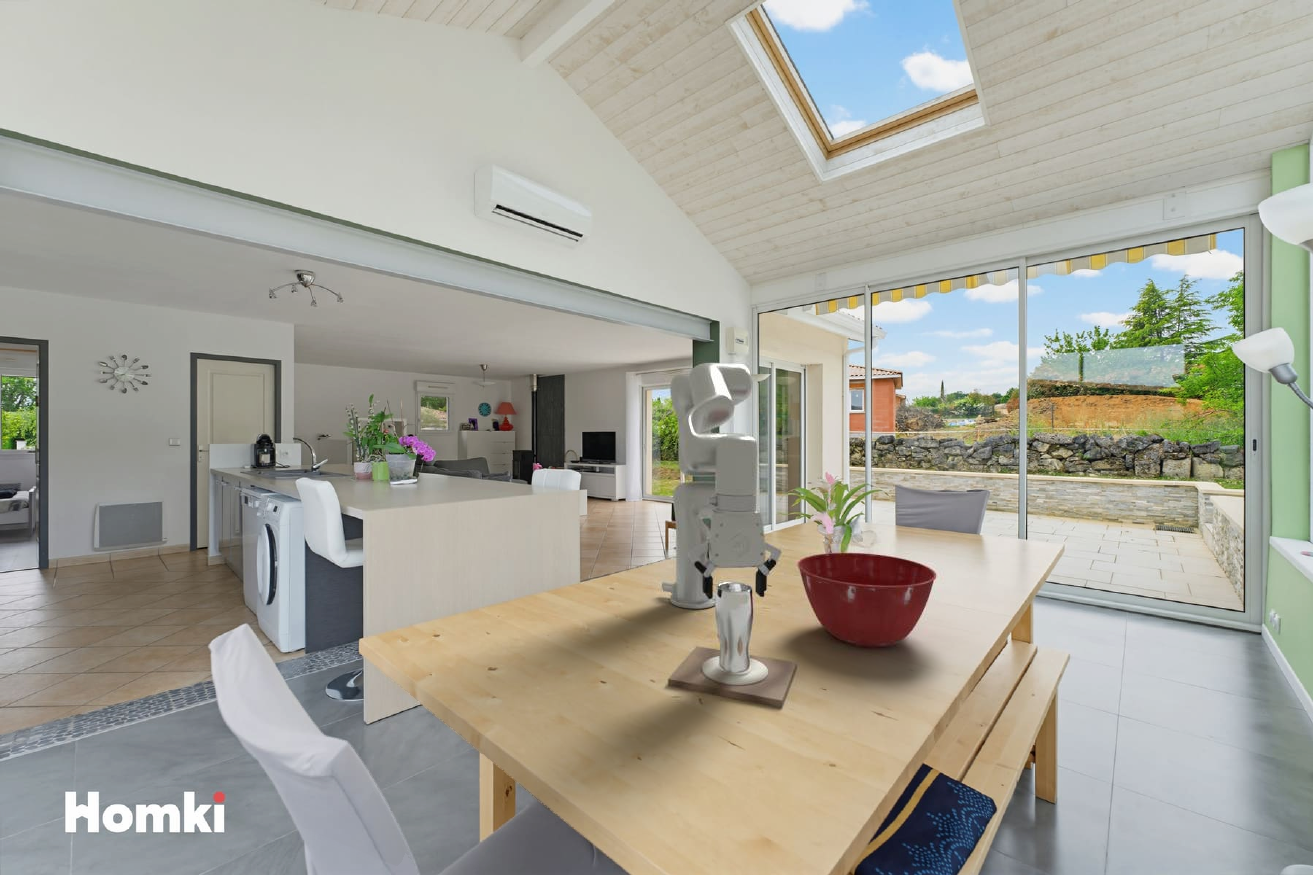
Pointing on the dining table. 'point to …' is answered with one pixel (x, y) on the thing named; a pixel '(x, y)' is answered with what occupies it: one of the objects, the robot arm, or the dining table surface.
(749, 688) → the walnut board
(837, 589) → the mixing bowl
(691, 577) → the robot arm
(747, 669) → the silver metal tumbler
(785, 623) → the dining table surface
